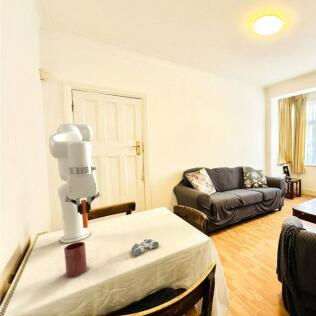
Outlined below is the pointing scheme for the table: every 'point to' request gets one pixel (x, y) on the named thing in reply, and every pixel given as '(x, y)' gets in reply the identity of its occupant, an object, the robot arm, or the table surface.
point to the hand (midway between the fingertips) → (84, 212)
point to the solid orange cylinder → (84, 214)
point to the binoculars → (147, 243)
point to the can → (75, 259)
